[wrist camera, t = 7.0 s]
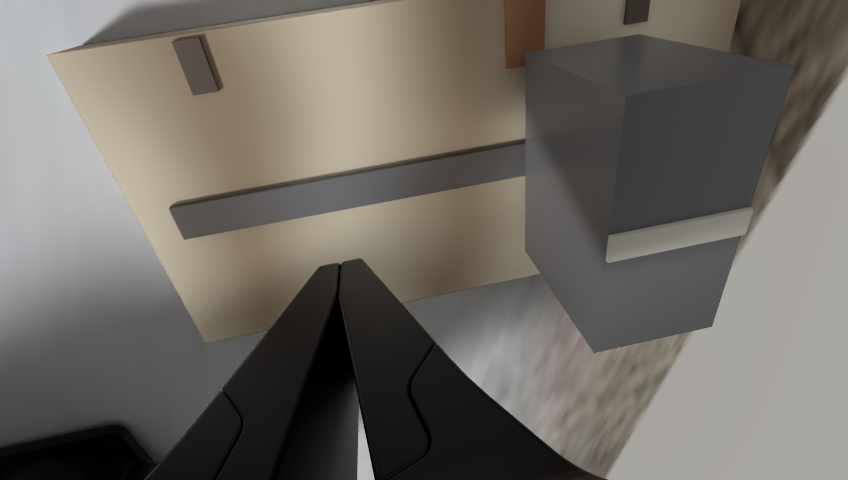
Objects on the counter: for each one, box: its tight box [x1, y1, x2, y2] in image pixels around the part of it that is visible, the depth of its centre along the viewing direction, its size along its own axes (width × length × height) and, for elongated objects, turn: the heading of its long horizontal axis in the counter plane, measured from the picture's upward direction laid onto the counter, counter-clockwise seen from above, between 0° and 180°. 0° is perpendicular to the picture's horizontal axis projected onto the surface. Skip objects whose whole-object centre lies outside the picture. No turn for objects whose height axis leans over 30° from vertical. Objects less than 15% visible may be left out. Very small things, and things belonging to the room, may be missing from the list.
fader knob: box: [525, 34, 795, 353], centre depth 11 cm, size 3×6×5 cm, turn 7°
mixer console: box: [47, 0, 741, 343], centre depth 13 cm, size 17×9×2 cm, turn 97°
